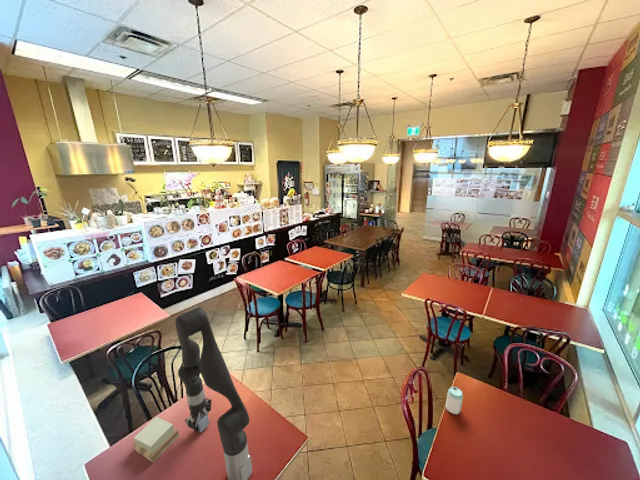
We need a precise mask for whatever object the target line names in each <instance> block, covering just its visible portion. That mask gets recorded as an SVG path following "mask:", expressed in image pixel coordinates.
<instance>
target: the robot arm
mask: <svg viewBox="0 0 640 480" xmlns="http://www.w3.org/2000/svg"><path fill="white" fill-rule="evenodd" d="M174 323H175V330H176V334H177V338H178V342H179V346H180V350H181V362H182V365H181V366H180V367H179V368H178V370H177V376H178V377H179V379H180V381H181V382H182V383H183V384H184V387H185V393H186V399H187V405H188V410H189V412H190V414H189V417H188V418H185V420H184V422H185V423H186V425H187V427H188V428H190V429H192V430H193V431H195V432H199V428H198V421H199V417H200V416H201V415H202V414H205V415H207V416H208V417H209V412H211V410H212V399H211V398H209V397H207V398H206V393H205V389H204V385H203V382H204V384H205V385H206V387H208V389H210V390H212V391H214V392H216V393H218V394H220V395H222V396H223V397H224V398H226V399H227V400H228V402H229V404H230V408H229V409H228V410H226V411H225V412H224V413H223V414H222V415H220V416H219V417H218V419H217V421H216V422H217V423H216V425H217V430H218V433H219V438H220V443H221V445H222V449H223V456H224V463H225V469H226V470H225V471H226V474H227V475H226V476H227V480H248V479H250V477H251V475H252V473H253V472H254V471H253V462H252V456H251V455H250V453H249V446H248V445H249V444H248V439H247V438H248V436H247V434H246V433H247V432H245V430H244V429H246V428H247V426H248V425H249V424H250V415H249V413H248V411H247V408H246V406H245V404H244V402H243V400H242V398H241V396H240V394H239V393H238V390H237V388H236V387H235V384H234V382H233V380H232V376H231V373H230V372H229V369H228V367H227V364H226V361H225V359H224V357H223V355H222V353H221V351H220V348H219V346H218V343H217V342H216V339H215V335H214V332H213V328H212V326H211V323H210V320H209V317H208V315H207V313H206V310H205V309H203V307H200V306H199V307H195V308H193V309H191V310H189V311H186V312H184V313H182V314H179V315H178V316H177V317H176V319H175V322H174ZM199 332H201V337H202V348H200V346H199V344H198V343H197V342H196V341H194V340H192V339H191V338H190V337H191V336H193V335H196V334H197V333H199ZM200 374H201V377H200V376H199V375H200ZM202 379H203V381H202Z"/></svg>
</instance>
